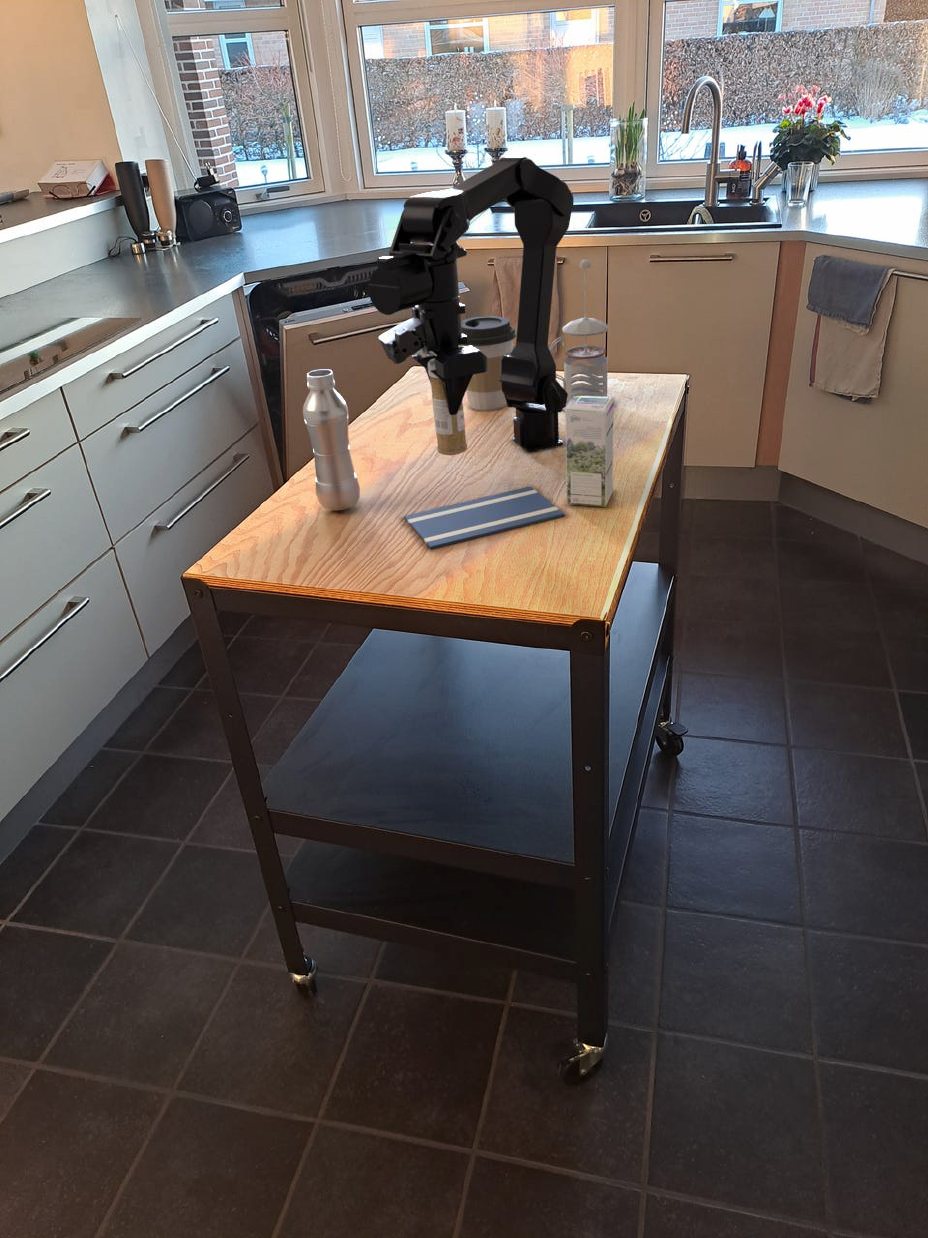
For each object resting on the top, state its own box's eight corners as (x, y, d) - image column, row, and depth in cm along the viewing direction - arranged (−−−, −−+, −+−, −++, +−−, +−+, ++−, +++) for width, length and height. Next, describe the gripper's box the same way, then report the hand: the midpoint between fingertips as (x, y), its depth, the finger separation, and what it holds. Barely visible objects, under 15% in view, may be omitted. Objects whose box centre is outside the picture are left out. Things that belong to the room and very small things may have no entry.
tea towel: (530, 488, 137) (530, 485, 137) (564, 515, 128) (564, 513, 128) (404, 518, 132) (403, 515, 131) (430, 549, 123) (430, 546, 123)
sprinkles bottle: (473, 450, 135) (466, 359, 128) (447, 458, 133) (438, 367, 126) (456, 441, 138) (448, 352, 131) (431, 450, 136) (421, 360, 129)
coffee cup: (462, 395, 177) (456, 315, 169) (521, 393, 175) (518, 312, 168) (454, 415, 168) (447, 331, 160) (516, 413, 166) (512, 329, 158)
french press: (616, 411, 163) (618, 263, 150) (550, 416, 164) (546, 268, 151) (609, 393, 171) (610, 251, 158) (547, 398, 172) (543, 257, 159)
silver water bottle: (327, 519, 133) (305, 383, 123) (312, 503, 138) (289, 372, 128) (369, 508, 135) (350, 374, 125) (352, 493, 141) (333, 363, 130)
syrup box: (613, 491, 134) (614, 394, 127) (605, 508, 129) (606, 408, 122) (575, 489, 136) (574, 393, 128) (565, 506, 131) (564, 407, 124)
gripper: (362, 294, 130) (375, 402, 138) (402, 321, 114) (415, 440, 123) (436, 282, 133) (445, 388, 141) (485, 307, 117) (492, 424, 126)
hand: (447, 409), depth 132 cm, fingers closed on sprinkles bottle, 4 cm apart
